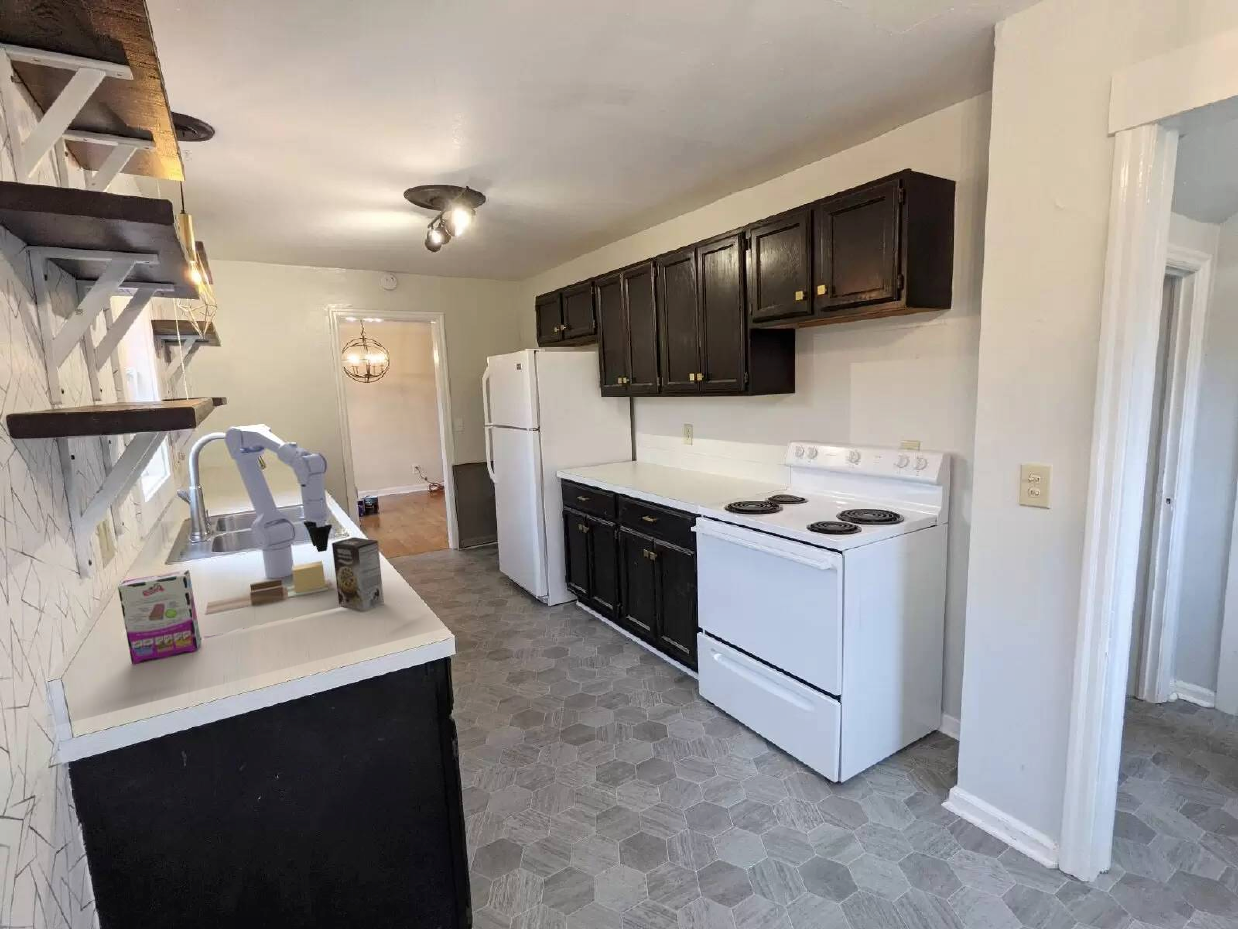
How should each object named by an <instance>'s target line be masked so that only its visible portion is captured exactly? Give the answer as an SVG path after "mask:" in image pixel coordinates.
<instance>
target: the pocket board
mask: <svg viewBox="0 0 1238 929" xmlns="http://www.w3.org/2000/svg"><path fill="white" fill-rule="evenodd" d="M249 586H250V592H249V594H245V595H240V596H235V597H231V598H224V599H220V600H214V601H213V600H212V601H209V602H207V606H206V609H205V614H204V615H205V616H207V615H208V616H209V615H212V614H216V613H222V612H228V611H231V610H237V609H242V608H247V607H248V608H249V607H252V606H257V605H258V606H259V605H262V604H268V603H272V602H277V601H282V600H283V601H284V600H288V599H293V598H297V597H302V596H308V595H312V594H313V595H314V594H318V593H322V592H323V593H324V592H329V591H332V590H334V589H335V588H334V585H333V584H332V580H331V579H325V587H323V588H318V589H313V590H308V591H303V592H298V593H296V592H295V587H294V585H291V586H287V587H283V582H282V577H280V578H274V579H270V580H265V581H260V582H259V581H258V582H253V583H250V585H249Z"/></svg>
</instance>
